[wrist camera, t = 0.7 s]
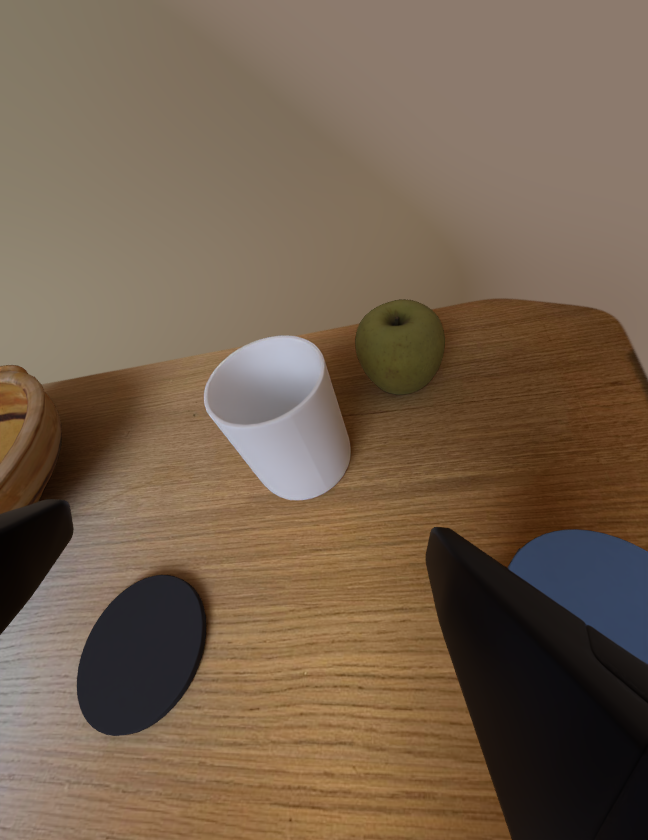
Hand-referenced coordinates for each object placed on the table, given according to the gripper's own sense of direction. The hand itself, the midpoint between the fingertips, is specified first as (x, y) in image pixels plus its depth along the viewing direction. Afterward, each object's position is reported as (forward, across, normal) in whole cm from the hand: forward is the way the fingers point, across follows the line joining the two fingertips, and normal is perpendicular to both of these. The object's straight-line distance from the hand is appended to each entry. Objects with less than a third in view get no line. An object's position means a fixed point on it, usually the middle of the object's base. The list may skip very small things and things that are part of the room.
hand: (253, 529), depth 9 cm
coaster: (+10, +9, +18) cm, 22 cm away
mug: (+22, -1, +6) cm, 23 cm away
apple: (+26, -10, 0) cm, 27 cm away
